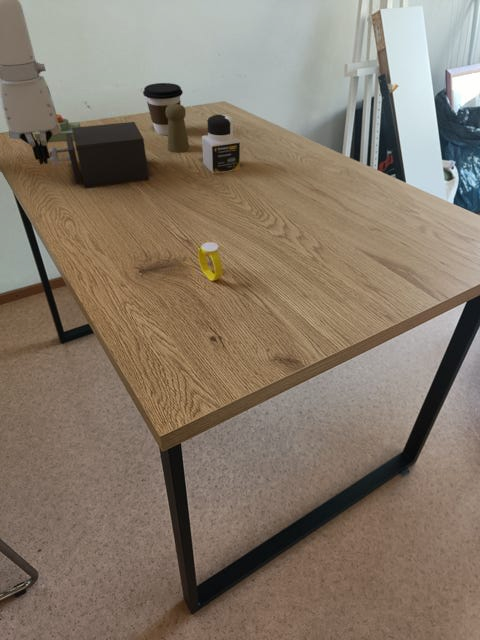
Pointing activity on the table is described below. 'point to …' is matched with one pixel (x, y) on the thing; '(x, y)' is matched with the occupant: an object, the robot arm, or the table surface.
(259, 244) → the table surface
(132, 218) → the table surface
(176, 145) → the olive brown pawn
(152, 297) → the table surface
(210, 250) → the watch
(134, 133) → the black drawer box
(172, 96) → the coffee cup
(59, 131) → the robot arm
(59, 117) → the button
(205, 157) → the medicine bottle
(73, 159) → the drawer
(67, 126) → the control block
